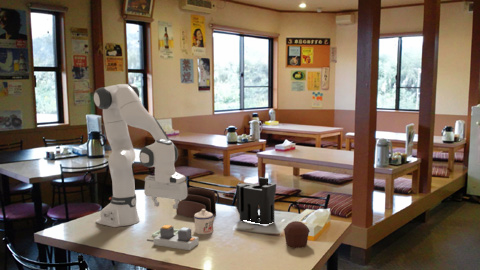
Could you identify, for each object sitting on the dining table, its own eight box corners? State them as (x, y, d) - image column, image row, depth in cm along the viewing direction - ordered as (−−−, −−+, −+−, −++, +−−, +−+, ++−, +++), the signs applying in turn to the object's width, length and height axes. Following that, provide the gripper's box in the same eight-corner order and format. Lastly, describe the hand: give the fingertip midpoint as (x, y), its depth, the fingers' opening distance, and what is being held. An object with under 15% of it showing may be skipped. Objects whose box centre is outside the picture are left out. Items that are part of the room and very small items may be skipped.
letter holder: (187, 210, 247) (186, 185, 245) (216, 215, 236) (215, 189, 235) (176, 215, 238) (175, 189, 236) (205, 220, 228) (204, 194, 226)
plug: (160, 243, 192) (160, 227, 191) (165, 240, 196) (165, 224, 195) (169, 245, 191) (168, 228, 190) (174, 241, 195) (173, 225, 194)
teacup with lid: (205, 237, 202) (204, 213, 200) (190, 234, 207) (189, 210, 206) (221, 230, 212) (220, 207, 210) (206, 227, 217) (205, 204, 215)
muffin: (283, 240, 197) (282, 218, 196) (307, 239, 197) (307, 218, 196) (285, 249, 185) (284, 227, 184) (311, 249, 185) (311, 227, 184)
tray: (151, 238, 202) (151, 234, 202) (163, 231, 211) (163, 227, 211) (170, 240, 198) (170, 236, 198) (181, 233, 208) (181, 229, 207)
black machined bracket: (267, 227, 214) (267, 184, 211) (233, 220, 226) (232, 179, 223) (279, 221, 224) (279, 179, 221) (246, 214, 236) (246, 175, 233)
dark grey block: (178, 246, 189) (177, 229, 188) (183, 243, 192) (182, 226, 192) (187, 247, 187) (186, 230, 186) (191, 244, 191) (191, 227, 190)
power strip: (142, 245, 194) (141, 235, 193) (152, 239, 201) (152, 229, 200) (189, 252, 184) (189, 242, 184) (198, 245, 192) (198, 235, 191)
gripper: (141, 176, 191) (141, 206, 193) (181, 180, 183) (182, 211, 185) (149, 173, 197) (150, 203, 199) (188, 177, 189) (189, 207, 191)
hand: (165, 207), depth 192 cm, fingers open, 8 cm apart
